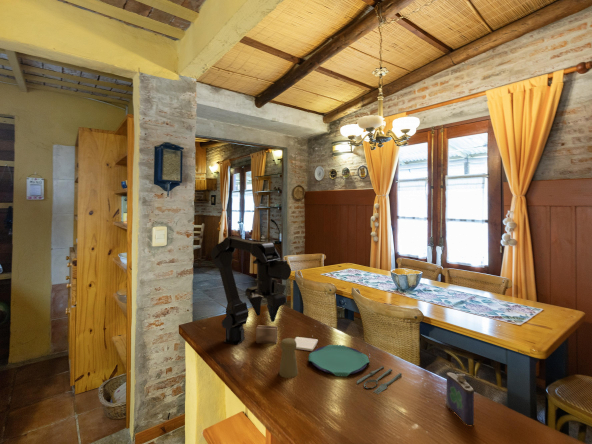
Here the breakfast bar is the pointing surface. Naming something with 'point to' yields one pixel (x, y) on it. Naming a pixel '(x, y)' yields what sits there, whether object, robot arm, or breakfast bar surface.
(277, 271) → the robot arm
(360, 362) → the cutlery set
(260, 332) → the napkin holder
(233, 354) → the breakfast bar surface
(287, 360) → the cork
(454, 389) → the flask
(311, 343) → the plate
